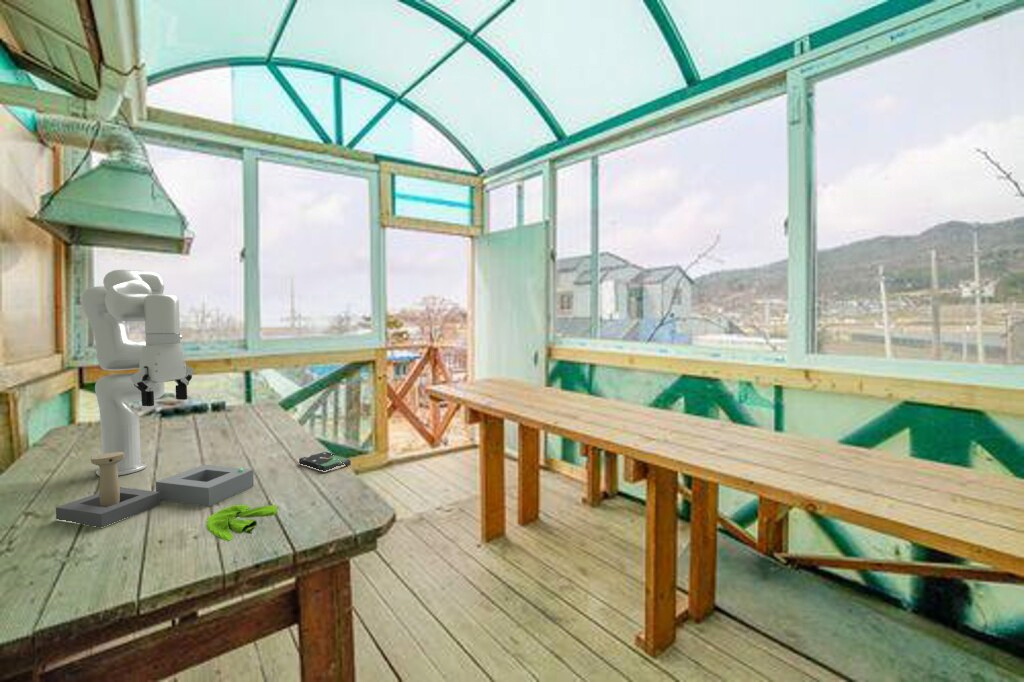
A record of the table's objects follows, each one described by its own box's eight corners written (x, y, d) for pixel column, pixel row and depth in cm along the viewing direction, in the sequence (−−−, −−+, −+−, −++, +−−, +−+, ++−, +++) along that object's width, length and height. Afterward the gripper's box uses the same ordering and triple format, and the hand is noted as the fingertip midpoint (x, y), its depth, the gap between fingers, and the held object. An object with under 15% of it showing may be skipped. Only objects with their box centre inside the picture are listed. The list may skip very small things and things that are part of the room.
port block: (156, 499, 126) (155, 478, 126) (204, 480, 140) (204, 462, 140) (209, 506, 122) (208, 485, 121) (253, 486, 136) (253, 467, 136)
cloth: (229, 505, 124) (228, 496, 124) (308, 506, 123) (308, 498, 123) (170, 542, 104) (170, 532, 103) (265, 544, 103) (264, 534, 103)
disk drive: (298, 466, 156) (324, 474, 148) (298, 458, 156) (324, 466, 147) (325, 458, 164) (351, 466, 156) (325, 451, 164) (351, 457, 156)
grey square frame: (56, 521, 112) (55, 507, 112) (117, 499, 126) (117, 486, 126) (102, 528, 109) (101, 514, 109) (160, 504, 122) (159, 492, 122)
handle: (129, 510, 119) (126, 454, 118) (96, 519, 113) (93, 460, 113) (123, 506, 121) (121, 450, 121) (91, 514, 116) (88, 456, 115)
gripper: (180, 338, 133) (182, 396, 134) (118, 341, 116) (121, 408, 117) (202, 338, 131) (204, 397, 132) (142, 342, 114) (145, 409, 115)
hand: (165, 402), depth 125 cm, fingers open, 9 cm apart
